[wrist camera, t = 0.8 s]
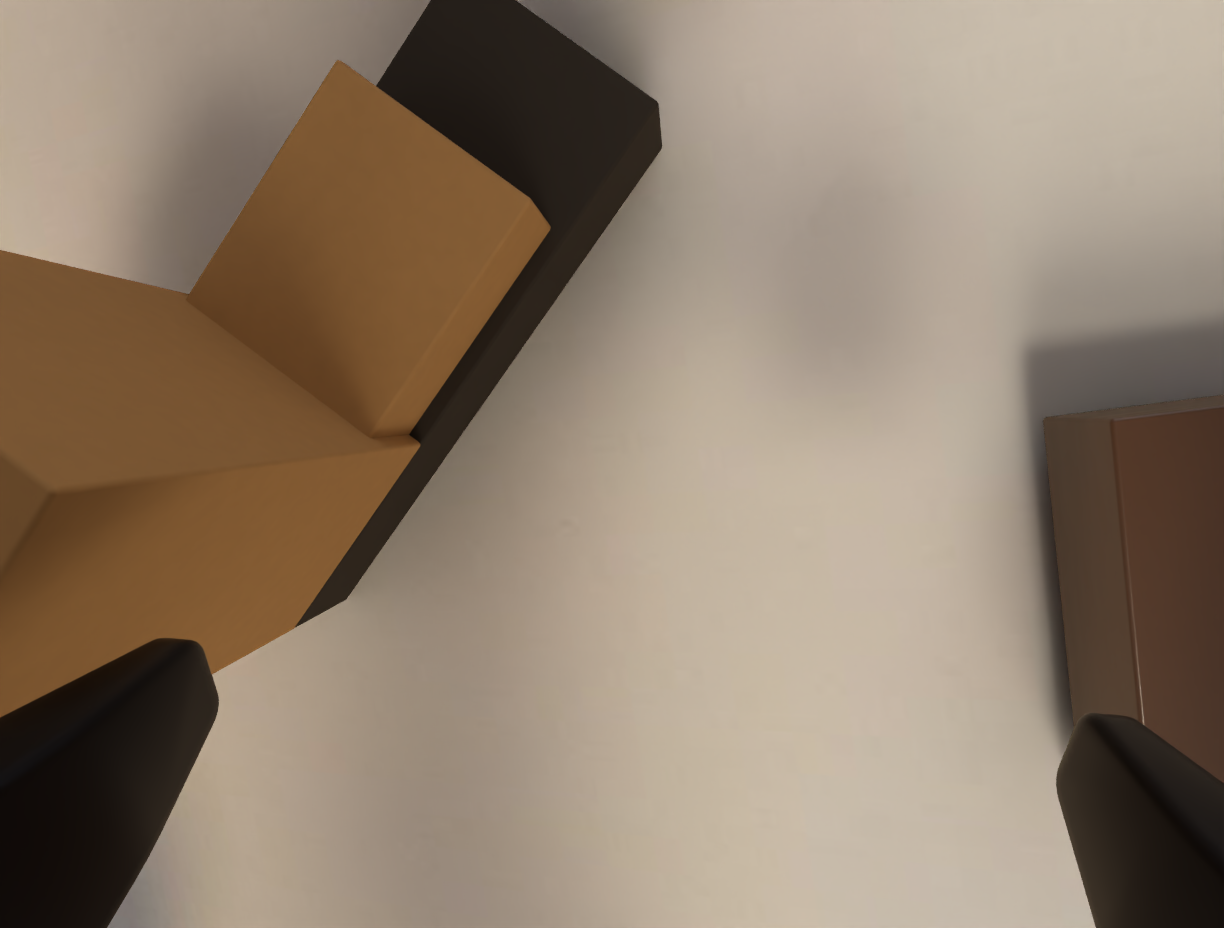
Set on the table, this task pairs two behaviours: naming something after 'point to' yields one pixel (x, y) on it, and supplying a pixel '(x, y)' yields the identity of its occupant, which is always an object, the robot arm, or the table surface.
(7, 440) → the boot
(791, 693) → the table surface
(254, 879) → the table surface
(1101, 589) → the brown wooden slab
